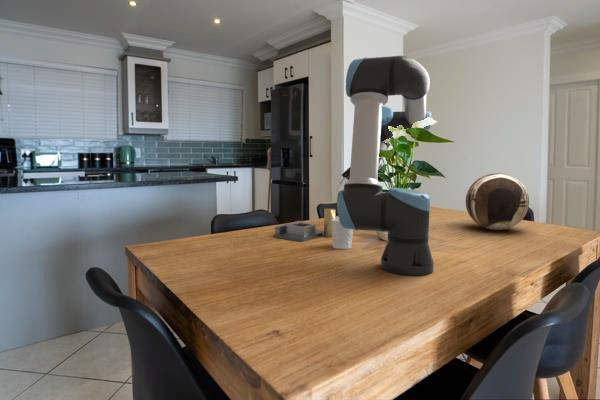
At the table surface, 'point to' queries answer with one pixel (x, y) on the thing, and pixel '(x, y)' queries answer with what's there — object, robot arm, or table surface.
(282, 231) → the jig
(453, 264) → the table surface
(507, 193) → the sphere
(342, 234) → the white cup
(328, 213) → the bushing
